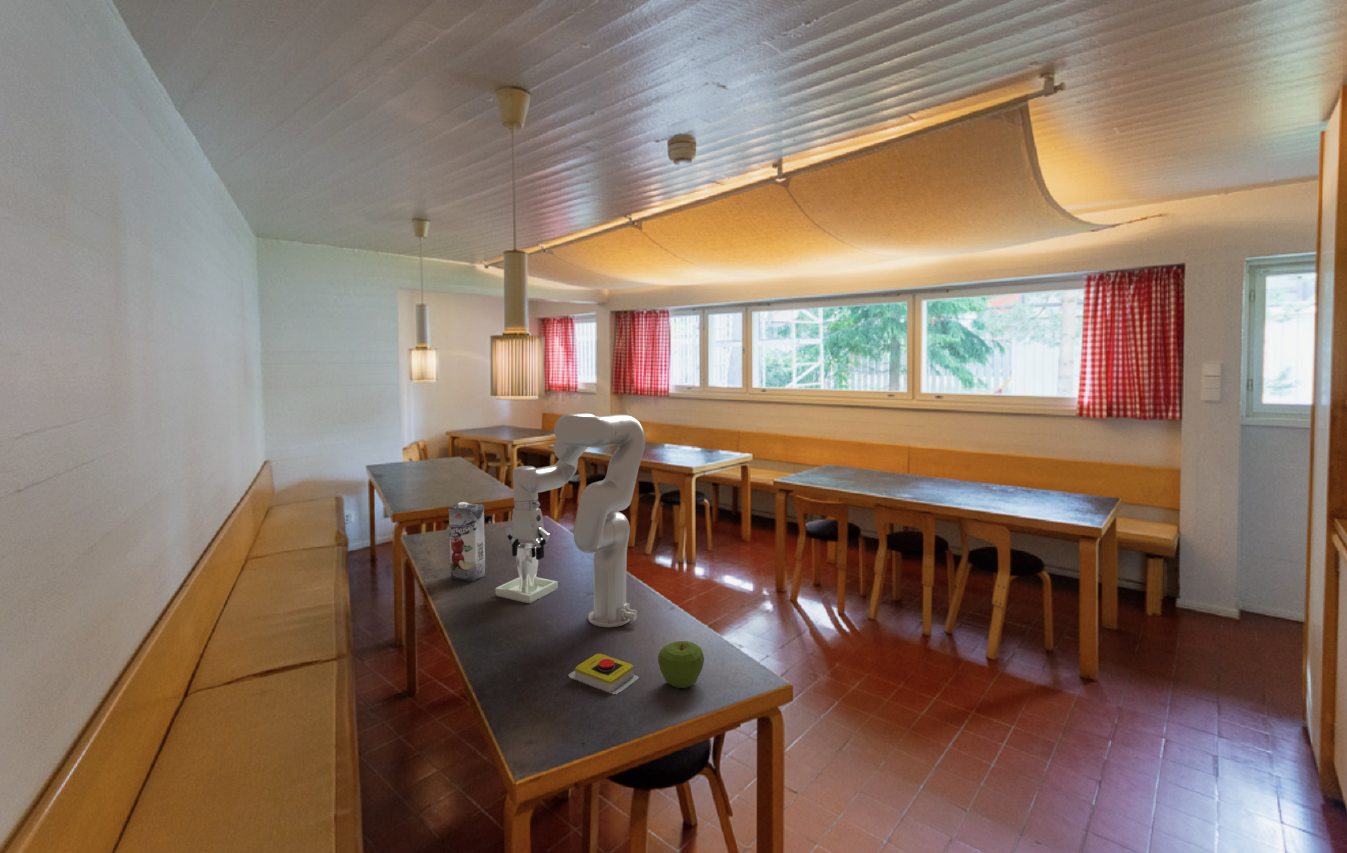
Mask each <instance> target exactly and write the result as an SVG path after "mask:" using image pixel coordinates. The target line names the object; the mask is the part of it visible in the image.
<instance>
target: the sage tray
mask: <svg viewBox="0 0 1347 853" xmlns="http://www.w3.org/2000/svg"><path fill="white" fill-rule="evenodd" d="M519 583H520V580H519V576H518V577H517V578H514V579H512V580H510V581H507V582H506V583H503V584H501V585H499V586H497V587H495V596H496V597H500V598H504V599H509V600H514V601H516V602H522V603H527V604H529V603H530V604H532V603H534V602H536V601H537V599H538V600H539V599H542V598H543V597H546V596H547V595H549V594H551V593H552V592H553V593H554V591H557V590H558V589H559V585H558V584H559V581H556V580H553V579H547V578H543V577H539V576H536V583H537V588H538V590H537V591H535V592H533V593H531V594H526V593H522V592H519V591H518V590H519Z"/></svg>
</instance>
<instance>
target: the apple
mask: <svg viewBox="0 0 1347 853" xmlns="http://www.w3.org/2000/svg"><path fill="white" fill-rule="evenodd" d="M657 662H658V665H659V669H660V672H661V674H662V676H663V679H664V681H666V683H668V684H669V685H670V686H672V687H673V688H675V687H676V688H675V689H679V688H684V689H687V688H689V687H690V686H692V685H695V683H697V681H698V678H699V676H700V675H701V672H702V670H703V666H704V663H705V657H704V653H703V649H702V647H700V646H699V645H697V644H696V643H694V642H691V641H686V640H678V641H673V642H669V643H668V644H666V645H664V646H662V648H661V650H660V651H659V653H658V656H657Z"/></svg>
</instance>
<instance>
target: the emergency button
mask: <svg viewBox="0 0 1347 853" xmlns="http://www.w3.org/2000/svg"><path fill="white" fill-rule="evenodd" d="M567 676H569V677H568V678H569V679H572V680H575V681H577V680H578V681H577V682H579V683H583V684H585V685H587V684H588V685H587V686H590V687H592V688H595V689H597V690H600V689H601V691H603V692H606V693H608V692H609V693H608V694H610V693H612V694H611V695H614V694H616V695H619V694H620V693H621V692H622V691H625V689H627V688H629V685H630V686H631V685H632V684H634V683H635V682H636V681H638V680H639V676H638V675H635V674H634V665H633V664H631V663H628V662H626V661H623V660H620V659H618V658H614V657H611V656H608V655H607V654H603V653H596V654H594V655H593V656H591V657H589V658H588V659H586V660H585V661H583V662H581V663H579V664H578V665H577V666H576V667H575V669H574V670H573V671H572V672H570V673H569V674H567ZM619 692H620V693H619ZM618 693H619V694H618Z"/></svg>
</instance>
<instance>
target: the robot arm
mask: <svg viewBox="0 0 1347 853" xmlns="http://www.w3.org/2000/svg"><path fill="white" fill-rule="evenodd" d="M553 428H554V429H553V432H554V433H553V434H554V436H555V439H556V440H555V441H554V443H553V445H552V450H553V453H554V455H555V456H556V457H557V458H558V460H557V462H556V463H555V464H553V465H548V466H542V467H537V468H536V467H535V466H532V465H523V466H516V467H514V468H513V469H512V470H513V471H512V480H513V481H512V483H513V484H512V485H513V486H512V487H513V488H512V489H513V509H512V515H511V526H509V527H507V528H506V529H505V533H506V535H507V538H508V540H509V543H510V544H511V552H512V553H511V554H512V557H517V546H518V545H519V544H521V542H520V541H528V542H533V543H535V544H536V545H537V547H536V559H537V560H542V559H544V557H545V546H546V544H547V543H548V541H549V539H550V536H551V534H550V533H549V532H548V531H546V530H545V524H544V518H543V513H542V509H541V508H539V507H540V506H541V502H539V494H538V493H543V492H547V491H551V490H552V491H553V490H554V489H555V490H556V489H560V488H562V487H563V486H564V485H566V484H567V483H568V482H569V481H570V480H571V479H572V478H573V476H575V474H576V473H577V470H578V464H579V461H578V460H579V458H580V457H581V456H582V455H583V454H584V452H585V451H586V450H587V449H588V448H593V449H594V448H595V449H596V448H605V447H612V446H617V447H616V449H615V451H614V452H613V454H612V456H611V457H610V460H609V463H608V465H607V466H608V467H607V470H606V475H605V478H603V480H599V481H595V482H592V483H590V484H588V485H587V486H586V487H584V489H583V491H582V493H581V494H580V498H579V502H578V506H577V507H578V508H577V513H576V517H575V523H574V528H573V540H574V544H575V546H576V548H577V549H578V550H579V551H580V552H583V553H585V554H592V553H594V556H593V569H592V570H593V571H592V572H593V574H592V575H593V610H592V611H590V612H589V613H588V616H587V618H588V619H587V620H588V622H589V623H590V624H591V625H593V626H597V627H601V628H617V627H621V626H623V625H624V626H625V625H627V624H629V622H630V621H631V620H632V621H636V620H637V618H638V617H637V616H638V610H636V609H631V608H630V606H631V604H630V602H627V554H628V553H627V552H628V546H629V544H628V543H629V538H630V530H631V526H630V522H629V520H628V518H627V517H626V515H625V514H624V513H622V512H620V511H624V510H626V509H627V508H628V507H629V506H631V502H632V499H633V496H634V492H635V487H636V483H637V479H638V474H639V470H640V469H639V468H640V465H641V462H642V459H643V455H644V452H645V447H646V435H645V430H644V428H643V426H642V424H641V423H640V421H639V420H638V419H637V418H635V417H633V416H632V415H630V414H629V415H628V414H610V415H609V414H608V415H599V416H597V415H595V414H593V413H590V412H579V413H578V412H576V413H566V414H564V415H561V416H559V418H558V419H557V420H556V422H555V424H554V427H553Z"/></svg>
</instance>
